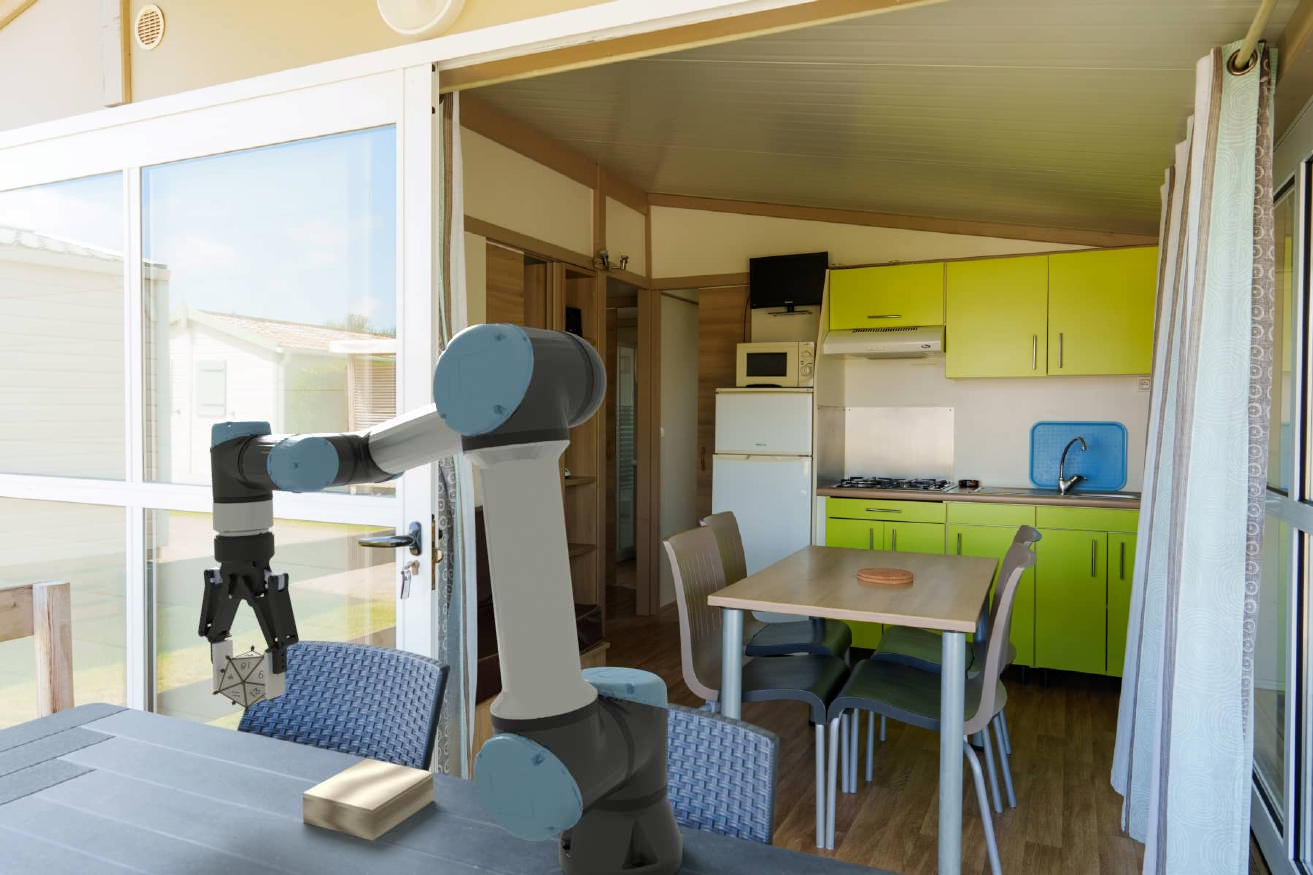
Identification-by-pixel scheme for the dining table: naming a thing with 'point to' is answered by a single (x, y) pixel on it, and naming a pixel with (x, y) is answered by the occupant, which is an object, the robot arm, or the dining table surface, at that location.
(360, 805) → the birch base
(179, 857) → the dining table surface
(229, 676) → the game die
